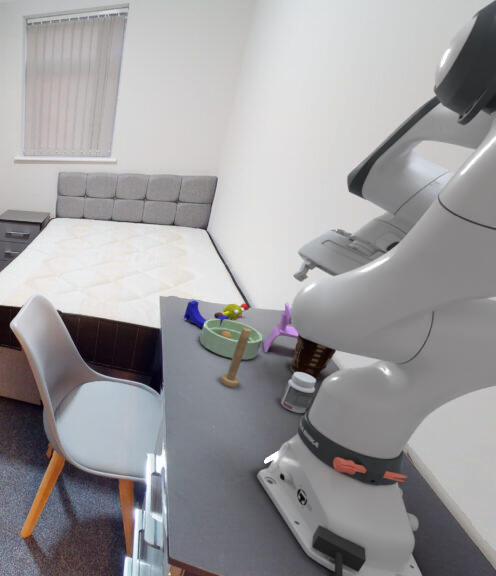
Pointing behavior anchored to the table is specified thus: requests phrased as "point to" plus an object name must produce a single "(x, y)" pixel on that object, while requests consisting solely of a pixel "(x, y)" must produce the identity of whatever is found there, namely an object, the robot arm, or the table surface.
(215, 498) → the table surface
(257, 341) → the bowl
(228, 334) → the ball
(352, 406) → the robot arm
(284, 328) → the toy chair
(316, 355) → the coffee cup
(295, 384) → the pill bottle
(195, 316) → the blue curved piece
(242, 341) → the stirring stick
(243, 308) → the toy figure
